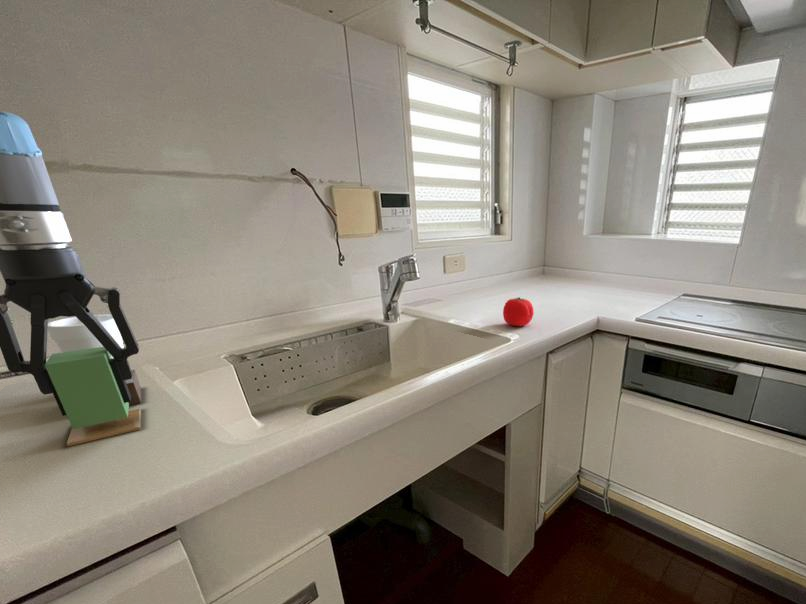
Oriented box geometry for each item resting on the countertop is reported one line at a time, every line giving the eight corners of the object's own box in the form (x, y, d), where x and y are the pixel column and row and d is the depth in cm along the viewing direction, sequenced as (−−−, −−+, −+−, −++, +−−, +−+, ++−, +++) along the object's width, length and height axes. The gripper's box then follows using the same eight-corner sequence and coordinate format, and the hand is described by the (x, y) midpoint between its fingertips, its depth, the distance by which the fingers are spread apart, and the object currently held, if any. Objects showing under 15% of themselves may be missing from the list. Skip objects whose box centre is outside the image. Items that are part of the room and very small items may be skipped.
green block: (78, 414, 62) (52, 353, 59) (129, 404, 66) (107, 346, 62) (73, 429, 58) (44, 364, 54) (127, 417, 62) (104, 355, 58)
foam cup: (151, 379, 81) (129, 316, 76) (97, 398, 73) (69, 328, 68) (117, 374, 83) (94, 313, 78) (61, 392, 75) (32, 324, 70)
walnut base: (83, 400, 72) (74, 379, 70) (141, 389, 76) (134, 369, 75) (77, 416, 66) (68, 394, 65) (141, 403, 71) (133, 382, 69)
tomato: (506, 329, 118) (506, 301, 115) (499, 321, 127) (499, 294, 124) (536, 328, 120) (537, 300, 116) (527, 320, 129) (528, 294, 126)
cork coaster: (74, 425, 63) (73, 422, 63) (140, 411, 68) (139, 408, 68) (67, 446, 57) (66, 443, 57) (140, 429, 62) (139, 426, 62)
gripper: (-98, 252, 44) (-3, 434, 53) (128, 245, 56) (177, 397, 64) (-72, 248, 50) (11, 414, 58) (130, 242, 61) (175, 382, 70)
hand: (98, 405), depth 61 cm, fingers closed on green block, 6 cm apart
